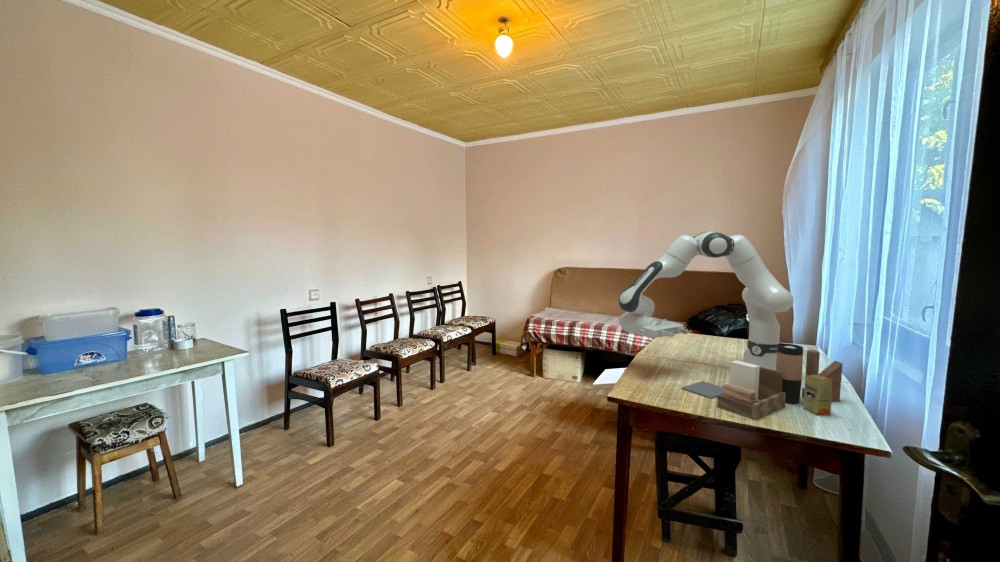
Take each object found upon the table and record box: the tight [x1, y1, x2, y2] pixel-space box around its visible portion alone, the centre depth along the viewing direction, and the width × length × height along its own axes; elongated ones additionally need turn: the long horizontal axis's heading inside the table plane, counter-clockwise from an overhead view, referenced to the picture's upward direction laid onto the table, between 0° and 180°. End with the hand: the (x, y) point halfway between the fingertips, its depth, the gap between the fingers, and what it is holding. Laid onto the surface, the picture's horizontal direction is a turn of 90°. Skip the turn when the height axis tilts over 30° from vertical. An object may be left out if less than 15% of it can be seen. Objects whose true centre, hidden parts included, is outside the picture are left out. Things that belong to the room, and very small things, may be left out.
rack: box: [716, 367, 786, 421], centre depth 135 cm, size 20×12×12 cm, turn 121°
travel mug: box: [776, 343, 804, 405], centre depth 140 cm, size 8×8×20 cm
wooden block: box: [801, 349, 843, 402], centre depth 141 cm, size 4×11×18 cm, turn 85°
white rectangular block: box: [729, 360, 760, 401], centre depth 139 cm, size 4×8×14 cm, turn 31°
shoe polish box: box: [803, 375, 833, 416], centre depth 130 cm, size 5×5×12 cm
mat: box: [681, 380, 723, 399], centre depth 151 cm, size 14×12×1 cm
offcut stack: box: [721, 383, 759, 405], centre depth 132 cm, size 4×10×8 cm, turn 31°
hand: (680, 333), depth 160 cm, fingers open, 8 cm apart
